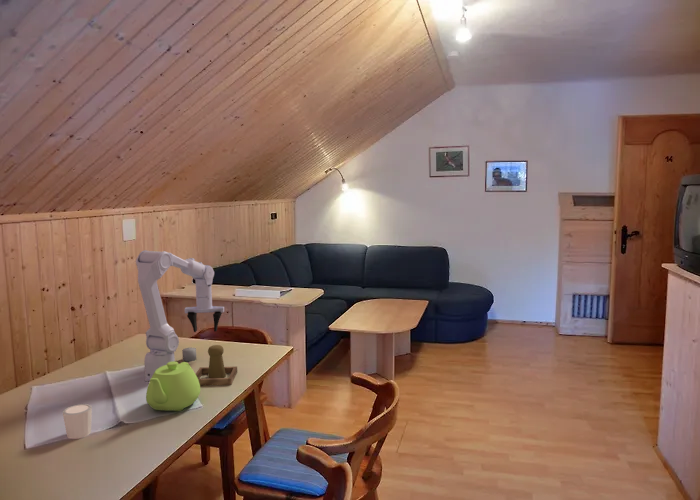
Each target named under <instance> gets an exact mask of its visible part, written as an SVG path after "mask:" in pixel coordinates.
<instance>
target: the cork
mask: <svg viewBox="0 0 700 500" xmlns="http://www.w3.org/2000/svg"><path fill="white" fill-rule="evenodd" d="M207 353H208V354H207V355H208V356H209V361H208V363H209V364H208V367H209V371H208V374H207V379H208V378H227V375H226V374H227V373H225V368H224V367H225V364H224V358H223V354H224V347H223V346H222V345H220V344H214V345H211V346H209V347H208V349H207Z"/></svg>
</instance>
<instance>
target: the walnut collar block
mask: <svg viewBox="0 0 700 500" xmlns="http://www.w3.org/2000/svg"><path fill="white" fill-rule="evenodd" d="M224 368H225V374H229V376H228V377H225V378H208V377H207V378H201V377H202V375H208V371H209V366H208V367H207V366H206V367H205V366H204V367H199V368H198V369H197V371H196V372H195V374H196V376H197V378H198V380H199V384H200V387H201V386H203V387H204V386H229V385H230V386H231V385H232V384H233V383H234V380H235V378H236V375H237V373H238V366H224Z"/></svg>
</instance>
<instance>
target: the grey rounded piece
mask: <svg viewBox="0 0 700 500" xmlns="http://www.w3.org/2000/svg"><path fill="white" fill-rule="evenodd" d="M181 350H182V351H181V352H182V362H187V363H189V362H190V363H191V362H195V361H197V358H198V357H197V347H185V348H183V349H181Z"/></svg>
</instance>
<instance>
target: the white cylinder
mask: <svg viewBox="0 0 700 500" xmlns="http://www.w3.org/2000/svg"><path fill="white" fill-rule="evenodd" d="M92 410H93V406H92V405H91V404H88V403H80V404H75V405H72V406H68V407H66V408H65V409H63V411H62V416H63V422H64V426H65V431H66V432H65V433H66V437H67V438H68V439H69V440H78V439H83V438H85V437H87V436H89V435H90V434H91V433H92V414H93V413H92Z"/></svg>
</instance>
